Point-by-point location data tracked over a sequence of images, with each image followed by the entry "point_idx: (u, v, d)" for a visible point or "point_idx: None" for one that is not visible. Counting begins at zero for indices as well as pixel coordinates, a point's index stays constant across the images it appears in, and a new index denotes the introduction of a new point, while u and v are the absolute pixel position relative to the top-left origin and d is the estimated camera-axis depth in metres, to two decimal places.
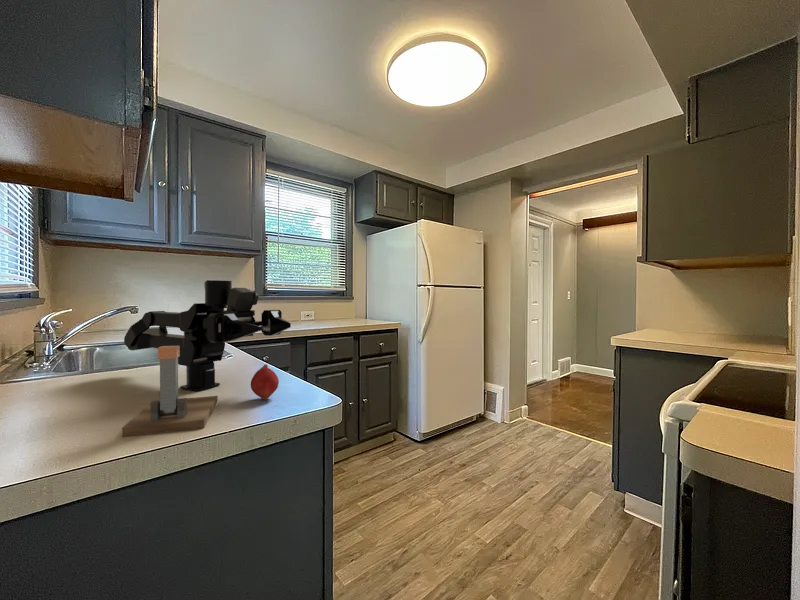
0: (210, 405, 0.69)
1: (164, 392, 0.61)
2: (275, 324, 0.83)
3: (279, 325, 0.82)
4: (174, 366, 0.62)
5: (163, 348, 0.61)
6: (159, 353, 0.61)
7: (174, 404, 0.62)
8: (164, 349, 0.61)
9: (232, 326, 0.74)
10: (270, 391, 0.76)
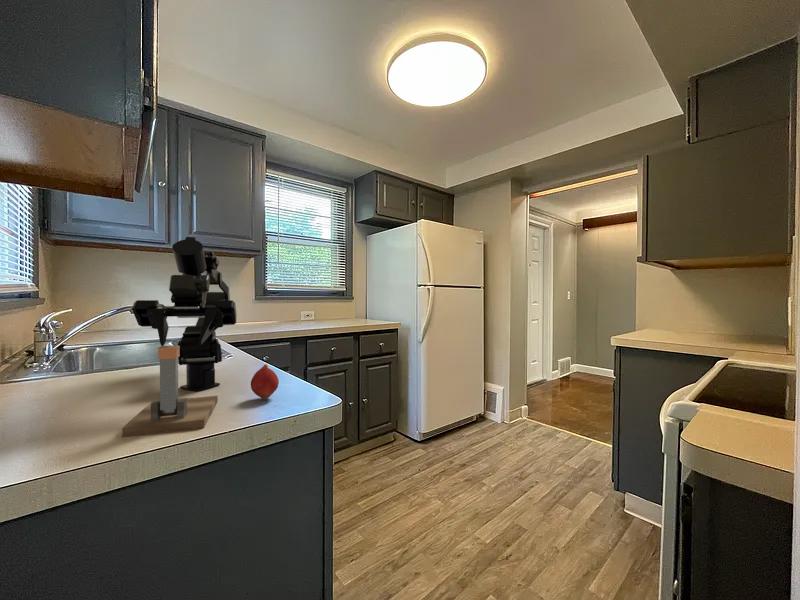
0: (210, 405, 0.69)
1: (164, 392, 0.61)
2: None
3: None
4: (174, 366, 0.62)
5: (163, 348, 0.61)
6: (159, 353, 0.61)
7: (174, 404, 0.62)
8: (164, 349, 0.61)
9: None
10: (270, 391, 0.76)
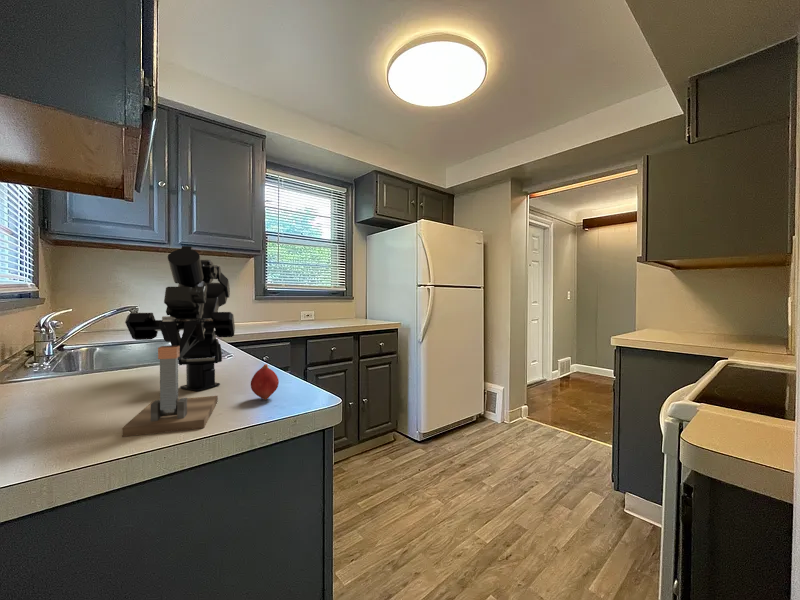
0: (210, 405, 0.69)
1: (164, 392, 0.61)
2: None
3: None
4: (174, 366, 0.62)
5: (163, 348, 0.61)
6: (159, 353, 0.61)
7: (174, 404, 0.62)
8: (164, 349, 0.61)
9: None
10: (270, 391, 0.76)
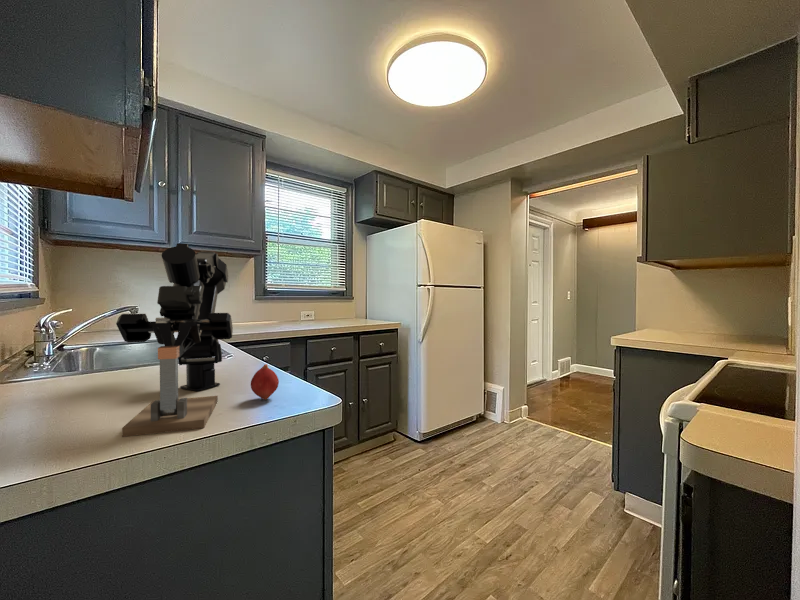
0: (210, 405, 0.69)
1: (164, 393, 0.61)
2: None
3: None
4: (174, 366, 0.62)
5: (163, 348, 0.61)
6: (159, 353, 0.61)
7: (174, 404, 0.62)
8: (164, 349, 0.61)
9: None
10: (270, 391, 0.76)
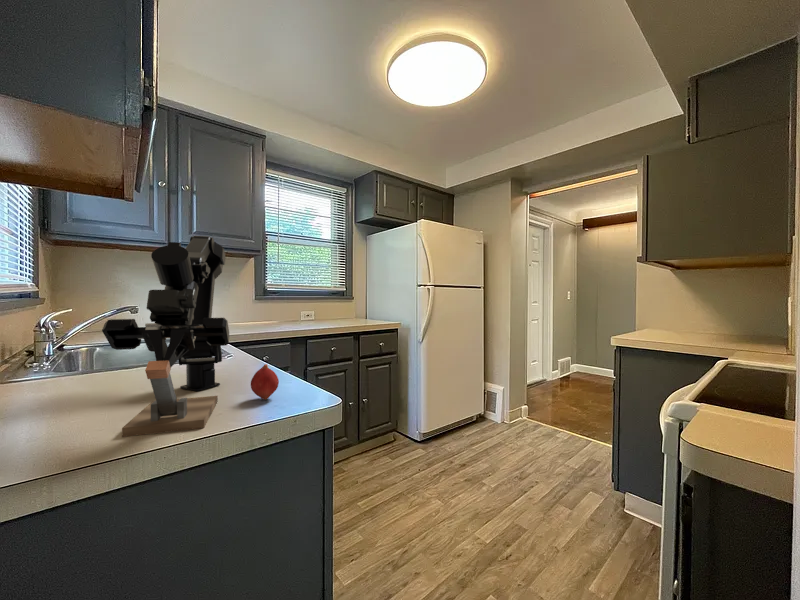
0: (210, 405, 0.69)
1: (161, 402, 0.60)
2: None
3: None
4: (167, 383, 0.58)
5: (151, 370, 0.55)
6: (148, 374, 0.55)
7: (173, 409, 0.61)
8: (152, 371, 0.55)
9: None
10: (270, 391, 0.76)
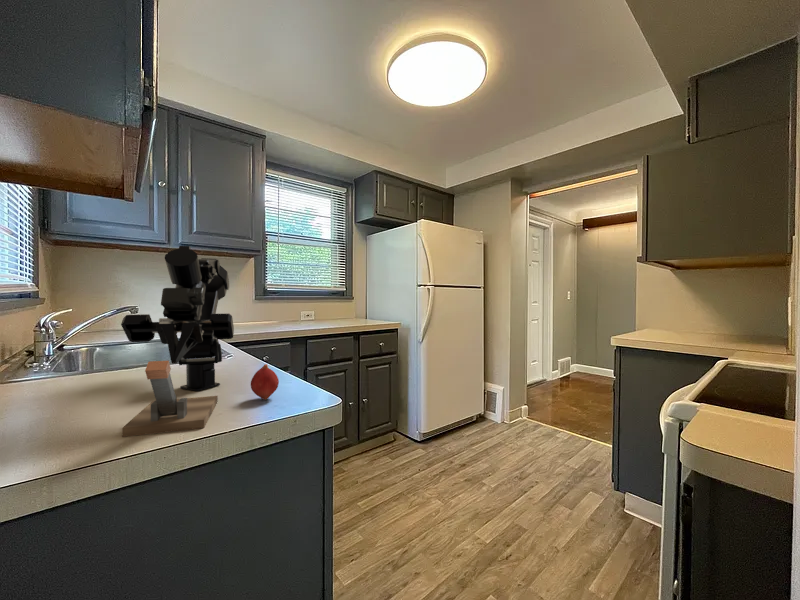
0: (210, 405, 0.69)
1: (161, 402, 0.60)
2: None
3: None
4: (167, 383, 0.58)
5: (151, 370, 0.55)
6: (147, 374, 0.55)
7: (173, 409, 0.61)
8: (152, 371, 0.55)
9: None
10: (270, 391, 0.76)
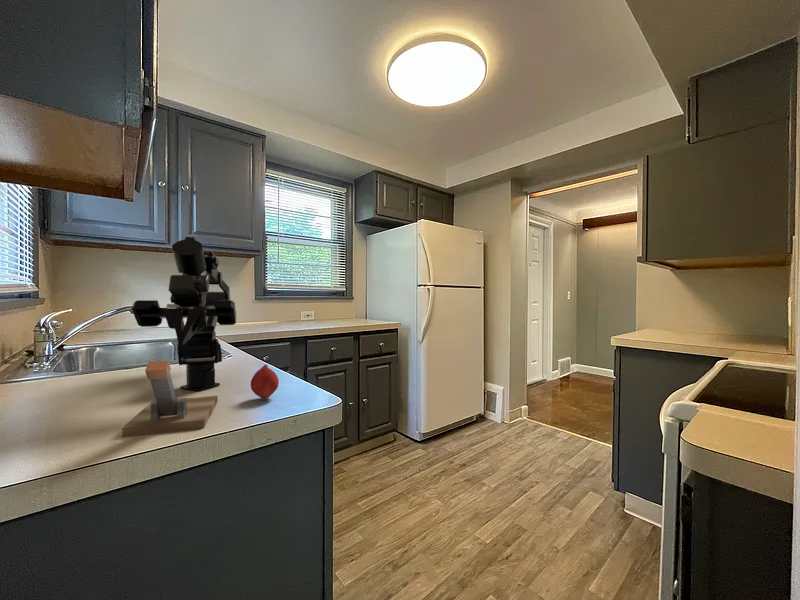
0: (210, 405, 0.69)
1: (161, 402, 0.60)
2: None
3: None
4: (167, 383, 0.58)
5: (151, 370, 0.55)
6: (147, 374, 0.55)
7: (173, 409, 0.61)
8: (152, 371, 0.55)
9: None
10: (270, 391, 0.76)
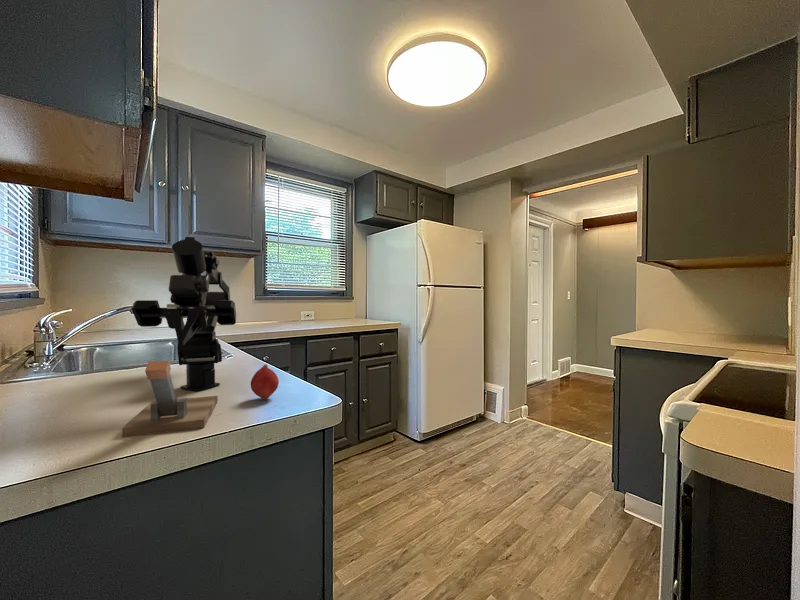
0: (210, 405, 0.69)
1: (161, 402, 0.60)
2: None
3: None
4: (167, 383, 0.58)
5: (151, 370, 0.55)
6: (147, 374, 0.55)
7: (173, 409, 0.61)
8: (152, 371, 0.55)
9: None
10: (270, 391, 0.76)
